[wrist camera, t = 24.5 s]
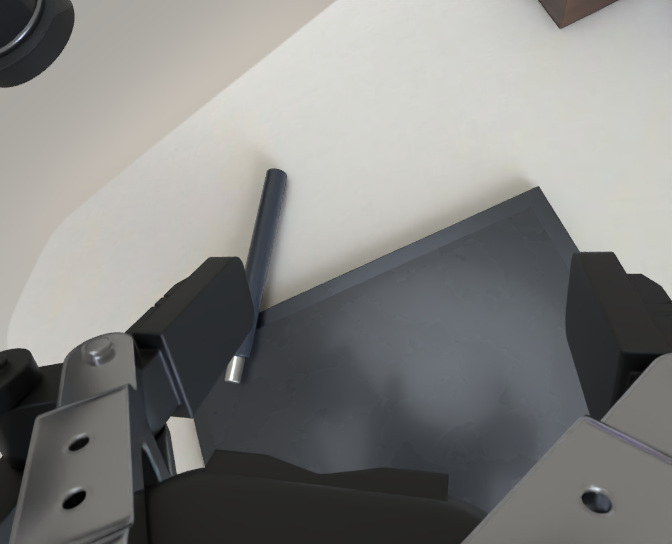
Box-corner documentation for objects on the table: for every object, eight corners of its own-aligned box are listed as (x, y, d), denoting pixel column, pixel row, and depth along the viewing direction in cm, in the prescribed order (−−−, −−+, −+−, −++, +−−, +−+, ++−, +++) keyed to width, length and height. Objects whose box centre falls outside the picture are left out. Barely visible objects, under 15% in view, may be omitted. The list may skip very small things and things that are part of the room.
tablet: (251, 632, 25) (244, 639, 24) (183, 351, 31) (175, 349, 30) (709, 469, 22) (718, 471, 21) (536, 191, 28) (539, 184, 27)
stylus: (249, 385, 27) (291, 177, 32) (232, 380, 26) (278, 166, 31) (231, 383, 28) (275, 180, 33) (214, 379, 27) (262, 170, 32)
